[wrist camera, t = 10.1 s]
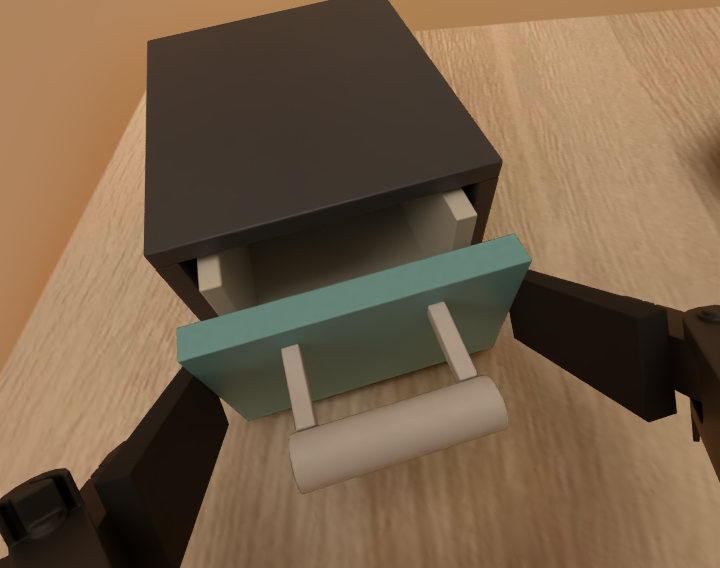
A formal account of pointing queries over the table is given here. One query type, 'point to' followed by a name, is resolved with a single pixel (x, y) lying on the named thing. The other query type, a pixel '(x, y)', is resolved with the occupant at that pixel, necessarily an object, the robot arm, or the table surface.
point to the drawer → (359, 331)
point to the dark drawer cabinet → (296, 132)
